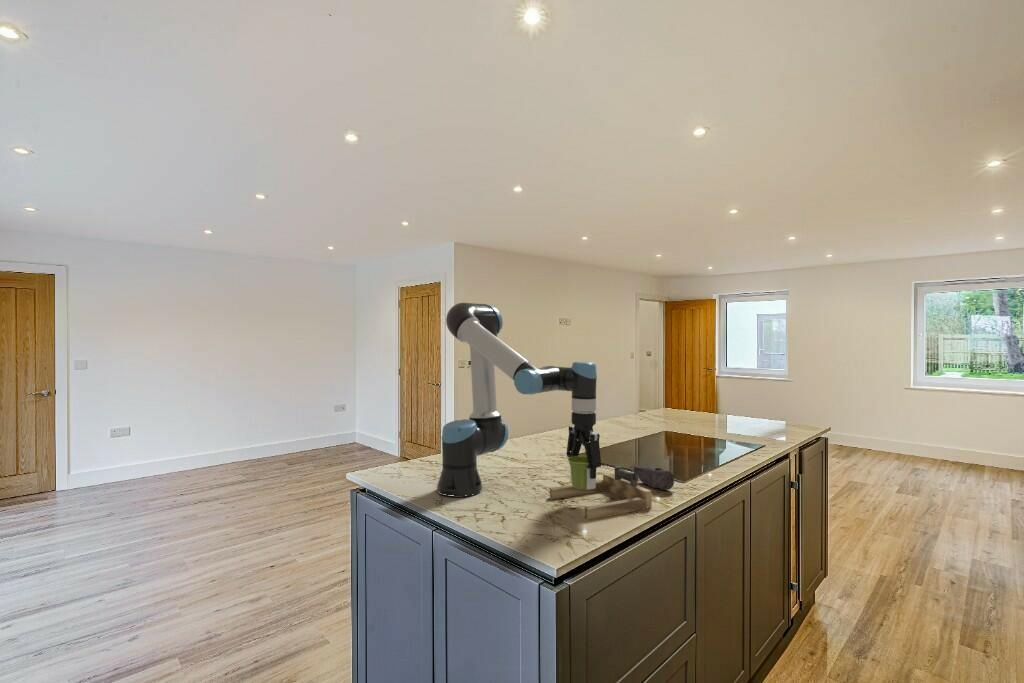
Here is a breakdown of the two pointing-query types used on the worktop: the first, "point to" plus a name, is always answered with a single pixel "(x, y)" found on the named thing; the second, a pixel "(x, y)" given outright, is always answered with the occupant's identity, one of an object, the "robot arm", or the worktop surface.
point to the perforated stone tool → (656, 477)
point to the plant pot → (579, 471)
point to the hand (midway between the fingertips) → (582, 484)
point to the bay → (615, 484)
